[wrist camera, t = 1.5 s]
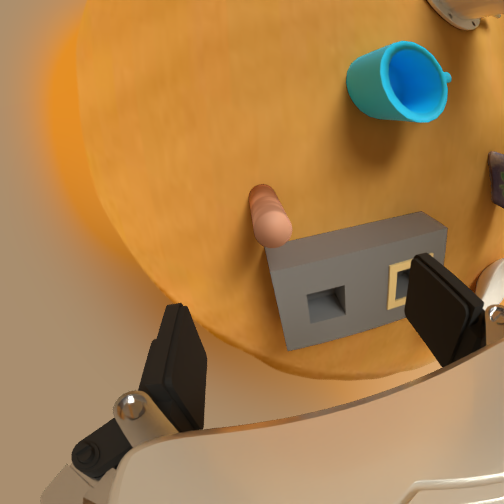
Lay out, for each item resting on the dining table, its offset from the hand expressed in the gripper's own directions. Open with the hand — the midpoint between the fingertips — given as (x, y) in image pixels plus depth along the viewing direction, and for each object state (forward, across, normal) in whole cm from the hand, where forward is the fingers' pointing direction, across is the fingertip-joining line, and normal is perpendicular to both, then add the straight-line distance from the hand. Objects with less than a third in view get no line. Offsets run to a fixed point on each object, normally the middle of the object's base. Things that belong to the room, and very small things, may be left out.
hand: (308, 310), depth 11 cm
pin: (+22, 0, +1) cm, 22 cm away
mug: (+22, -18, -11) cm, 30 cm away
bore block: (+22, -11, +13) cm, 28 cm away
